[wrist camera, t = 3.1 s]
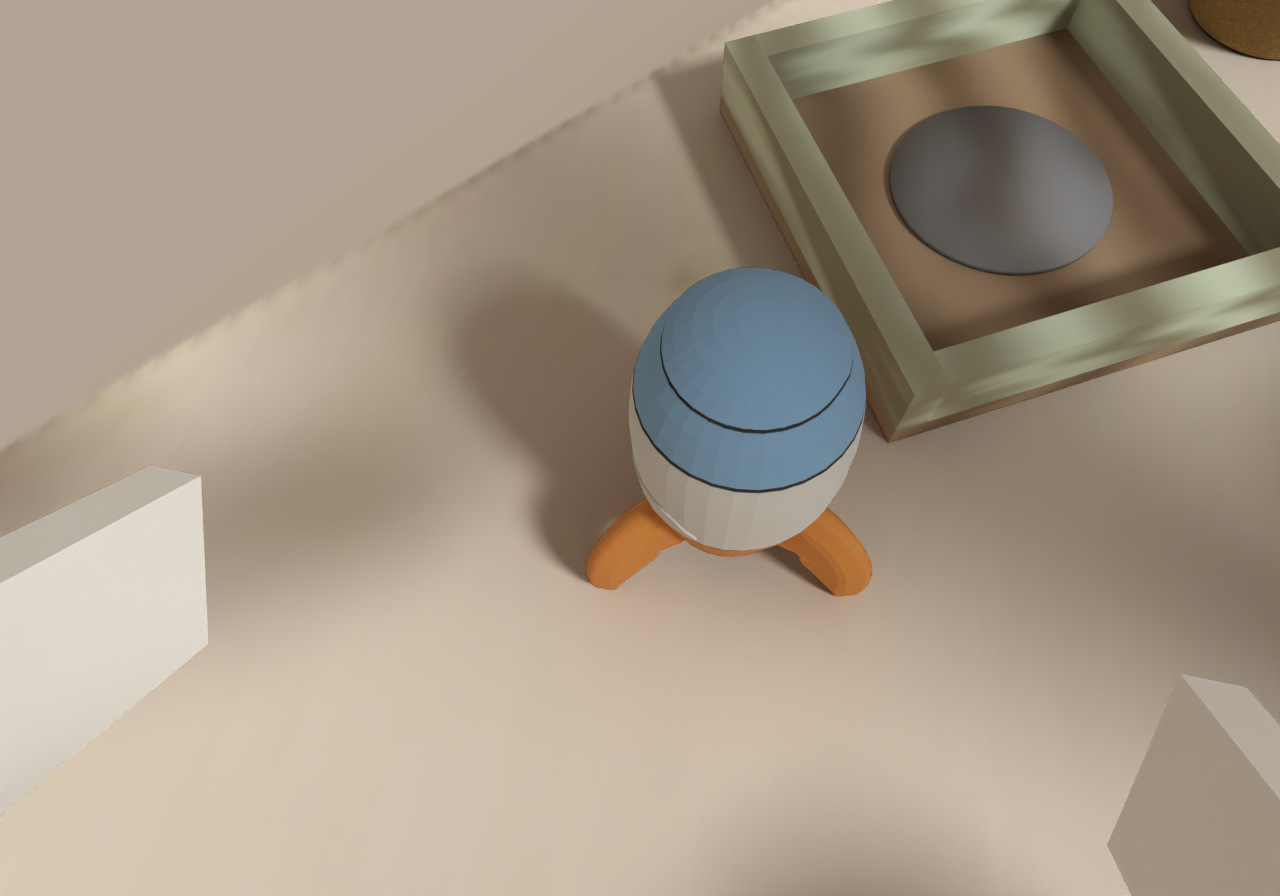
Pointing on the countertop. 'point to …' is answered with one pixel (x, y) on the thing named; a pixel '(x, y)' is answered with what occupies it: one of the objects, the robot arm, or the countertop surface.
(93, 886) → the countertop surface
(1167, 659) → the countertop surface
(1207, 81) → the cradle
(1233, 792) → the robot arm
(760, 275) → the toy rocket
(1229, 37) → the plant pot
